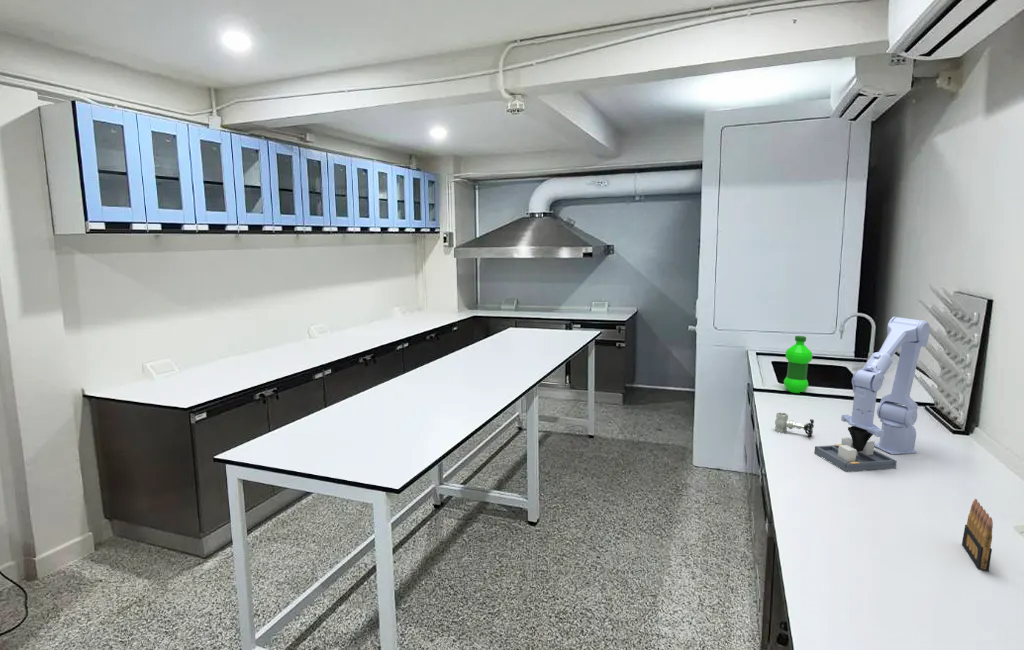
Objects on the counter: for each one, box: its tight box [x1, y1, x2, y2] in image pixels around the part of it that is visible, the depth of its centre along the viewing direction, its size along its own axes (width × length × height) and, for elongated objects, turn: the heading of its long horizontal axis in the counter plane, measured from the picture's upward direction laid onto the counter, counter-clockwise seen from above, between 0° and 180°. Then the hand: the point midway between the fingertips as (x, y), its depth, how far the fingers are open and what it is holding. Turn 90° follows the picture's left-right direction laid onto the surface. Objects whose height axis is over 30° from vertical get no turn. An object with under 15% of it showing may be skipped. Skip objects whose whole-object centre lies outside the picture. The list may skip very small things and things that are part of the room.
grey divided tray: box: [813, 443, 898, 473], centre depth 175 cm, size 17×14×3 cm
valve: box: [774, 412, 815, 438], centre depth 197 cm, size 7×7×12 cm
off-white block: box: [840, 437, 858, 456], centre depth 177 cm, size 3×4×4 cm
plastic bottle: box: [783, 335, 813, 394], centre depth 246 cm, size 10×10×25 cm
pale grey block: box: [861, 439, 876, 455], centre depth 178 cm, size 3×4×4 cm
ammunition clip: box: [961, 498, 994, 572], centre depth 123 cm, size 11×2×12 cm, turn 156°
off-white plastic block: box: [838, 445, 857, 463], centre depth 171 cm, size 3×4×4 cm
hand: (858, 450), depth 173 cm, fingers closed
